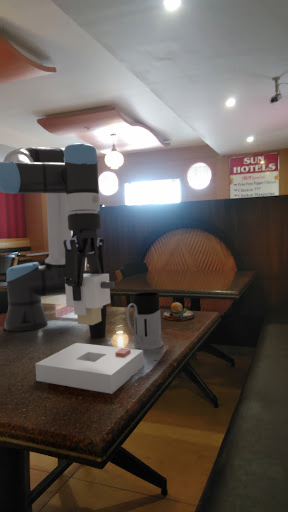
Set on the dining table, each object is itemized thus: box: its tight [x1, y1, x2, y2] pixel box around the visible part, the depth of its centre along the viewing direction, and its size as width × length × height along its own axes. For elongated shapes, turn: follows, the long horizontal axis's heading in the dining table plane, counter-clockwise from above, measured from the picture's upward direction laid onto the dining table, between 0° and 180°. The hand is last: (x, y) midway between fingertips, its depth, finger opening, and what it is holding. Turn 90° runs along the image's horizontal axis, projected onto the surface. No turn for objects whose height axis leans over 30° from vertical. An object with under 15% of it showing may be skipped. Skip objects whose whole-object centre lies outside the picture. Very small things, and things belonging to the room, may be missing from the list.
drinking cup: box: [88, 304, 108, 339], centre depth 115 cm, size 8×8×20 cm
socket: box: [34, 342, 145, 395], centre depth 84 cm, size 20×16×5 cm
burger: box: [162, 300, 194, 322], centre depth 136 cm, size 12×12×8 cm
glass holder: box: [125, 291, 164, 350], centre depth 102 cm, size 9×14×15 cm, turn 147°
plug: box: [65, 273, 116, 326], centre depth 83 cm, size 11×6×11 cm, turn 66°
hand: (89, 311), depth 83 cm, fingers closed on plug, 6 cm apart
